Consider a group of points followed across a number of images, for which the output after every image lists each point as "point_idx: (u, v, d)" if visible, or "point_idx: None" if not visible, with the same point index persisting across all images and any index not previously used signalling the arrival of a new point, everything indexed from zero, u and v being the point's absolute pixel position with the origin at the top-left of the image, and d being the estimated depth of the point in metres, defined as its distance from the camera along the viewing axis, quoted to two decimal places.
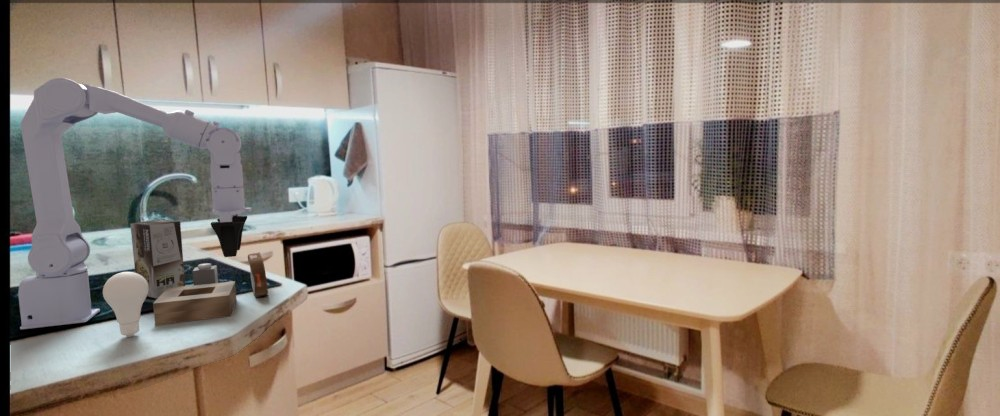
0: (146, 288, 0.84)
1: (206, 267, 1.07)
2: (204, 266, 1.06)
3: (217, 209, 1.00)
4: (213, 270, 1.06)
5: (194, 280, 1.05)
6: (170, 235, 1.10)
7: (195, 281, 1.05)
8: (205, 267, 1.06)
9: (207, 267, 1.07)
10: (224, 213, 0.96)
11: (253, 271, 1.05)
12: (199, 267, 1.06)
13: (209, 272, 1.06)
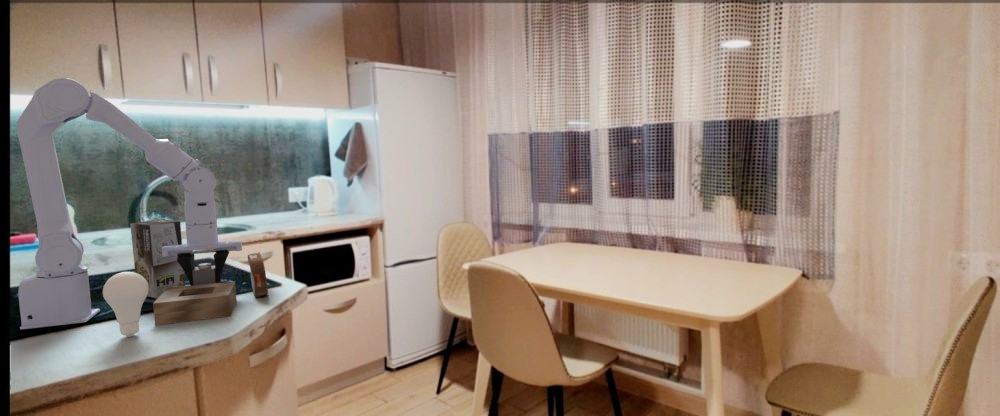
0: (146, 288, 0.84)
1: (206, 267, 1.07)
2: (204, 266, 1.06)
3: None
4: (213, 270, 1.06)
5: (194, 280, 1.05)
6: (170, 235, 1.10)
7: (195, 281, 1.05)
8: (205, 267, 1.06)
9: (207, 267, 1.07)
10: None
11: (253, 271, 1.05)
12: (199, 267, 1.06)
13: (209, 272, 1.06)
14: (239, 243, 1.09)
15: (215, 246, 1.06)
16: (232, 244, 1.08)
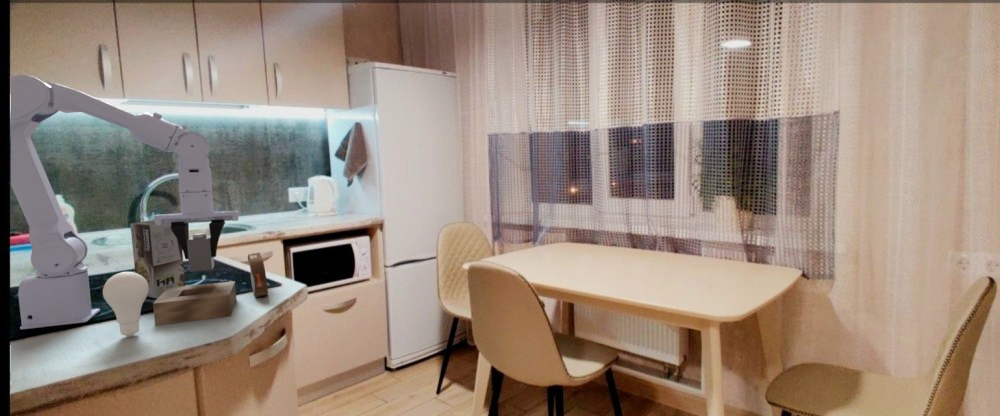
0: (146, 288, 0.84)
1: (201, 237, 1.03)
2: (199, 235, 1.03)
3: None
4: (208, 240, 1.02)
5: (188, 250, 1.01)
6: (170, 235, 1.10)
7: (190, 251, 1.01)
8: (200, 237, 1.03)
9: (202, 237, 1.03)
10: None
11: (253, 271, 1.05)
12: (194, 237, 1.02)
13: (204, 242, 1.02)
14: (235, 212, 1.05)
15: (210, 215, 1.02)
16: (228, 213, 1.04)
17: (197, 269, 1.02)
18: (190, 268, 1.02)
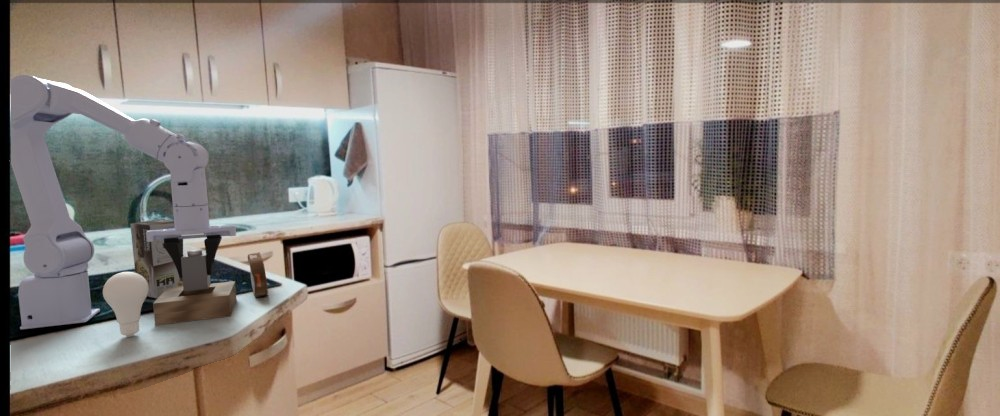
0: (146, 288, 0.84)
1: (196, 253, 0.96)
2: (194, 252, 0.96)
3: None
4: (204, 257, 0.96)
5: (183, 268, 0.95)
6: None
7: (184, 269, 0.95)
8: (195, 253, 0.96)
9: (197, 253, 0.96)
10: None
11: (253, 271, 1.05)
12: (188, 253, 0.96)
13: (199, 259, 0.96)
14: (233, 227, 0.98)
15: (206, 230, 0.95)
16: (225, 228, 0.97)
17: (192, 288, 0.96)
18: (184, 287, 0.95)
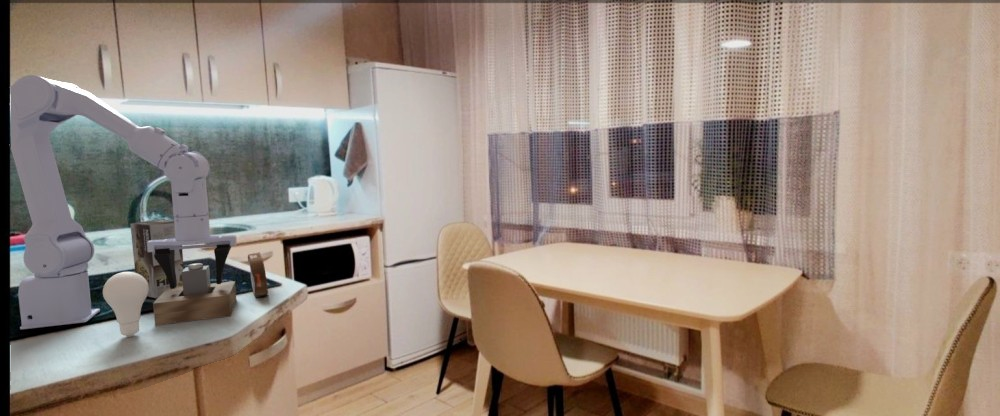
0: (146, 288, 0.84)
1: (197, 267, 0.96)
2: (195, 266, 0.96)
3: None
4: (205, 271, 0.96)
5: (183, 282, 0.95)
6: (170, 235, 1.10)
7: (185, 283, 0.95)
8: (196, 267, 0.96)
9: (198, 267, 0.97)
10: None
11: (253, 271, 1.05)
12: (189, 267, 0.96)
13: (200, 273, 0.96)
14: (233, 237, 0.98)
15: (206, 240, 0.95)
16: (225, 238, 0.98)
17: None
18: None
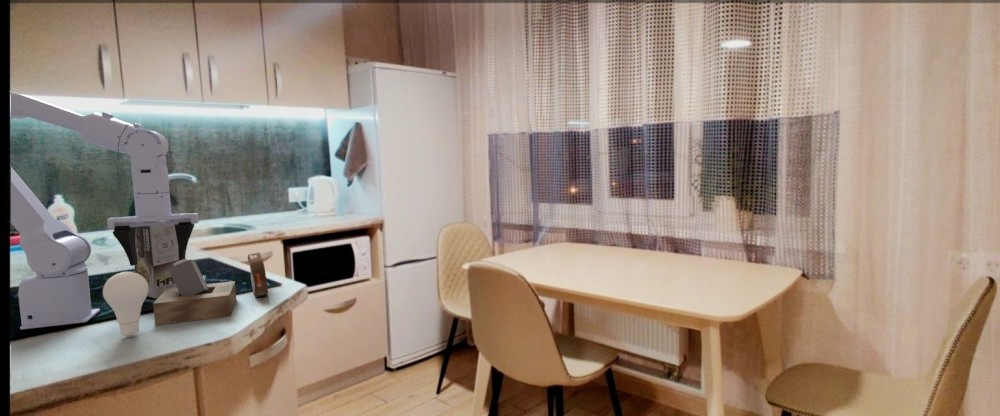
0: (146, 288, 0.84)
1: (182, 262, 0.97)
2: (179, 261, 0.97)
3: None
4: (189, 261, 0.97)
5: (173, 278, 0.95)
6: (170, 235, 1.10)
7: (175, 278, 0.95)
8: (180, 262, 0.97)
9: (183, 262, 0.97)
10: None
11: (253, 271, 1.05)
12: (175, 265, 0.97)
13: (186, 264, 0.97)
14: (194, 215, 0.99)
15: (167, 217, 0.96)
16: (186, 216, 0.98)
17: (190, 294, 0.96)
18: (182, 295, 0.95)
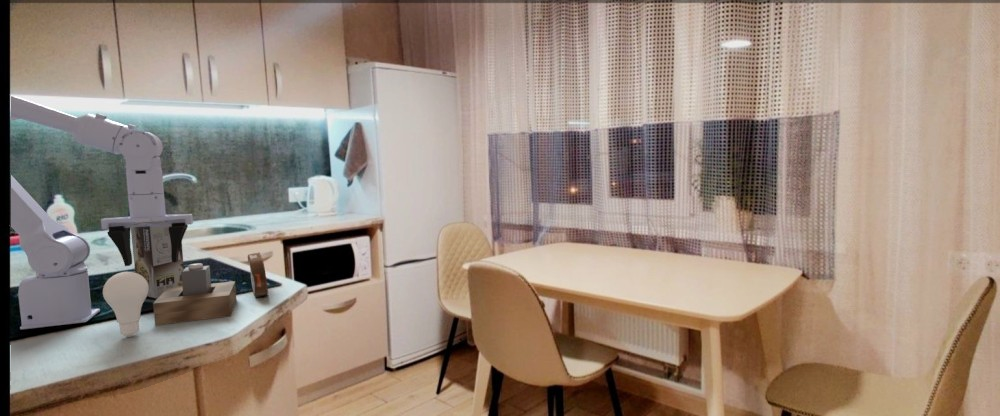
0: (146, 288, 0.84)
1: (197, 267, 0.96)
2: (194, 266, 0.96)
3: None
4: (204, 271, 0.96)
5: (183, 282, 0.95)
6: None
7: (184, 283, 0.95)
8: (195, 267, 0.96)
9: (198, 267, 0.96)
10: None
11: (253, 271, 1.05)
12: (189, 267, 0.96)
13: (200, 273, 0.96)
14: (189, 216, 0.99)
15: (161, 218, 0.97)
16: (181, 217, 0.99)
17: None
18: None
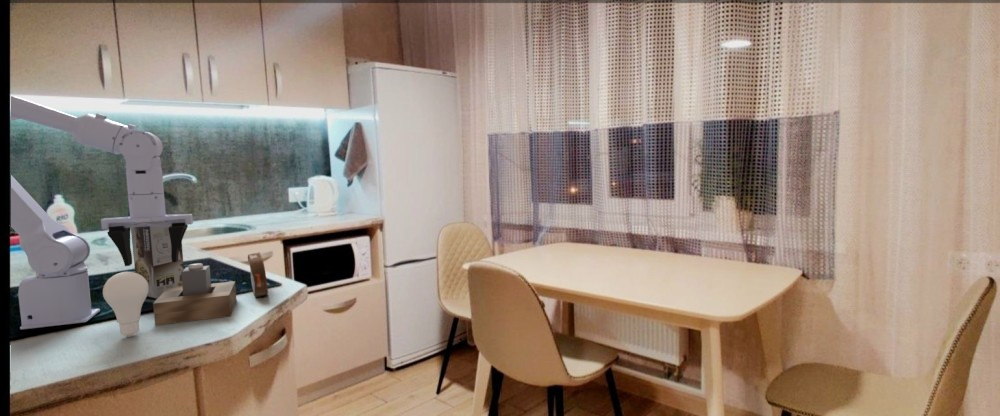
0: (146, 288, 0.84)
1: (197, 267, 0.96)
2: (194, 266, 0.96)
3: None
4: (204, 271, 0.96)
5: (183, 282, 0.95)
6: None
7: (184, 283, 0.95)
8: (195, 267, 0.96)
9: (198, 267, 0.96)
10: None
11: (253, 271, 1.05)
12: (189, 267, 0.96)
13: (200, 273, 0.96)
14: (189, 216, 0.99)
15: (161, 218, 0.97)
16: (181, 217, 0.99)
17: None
18: None
